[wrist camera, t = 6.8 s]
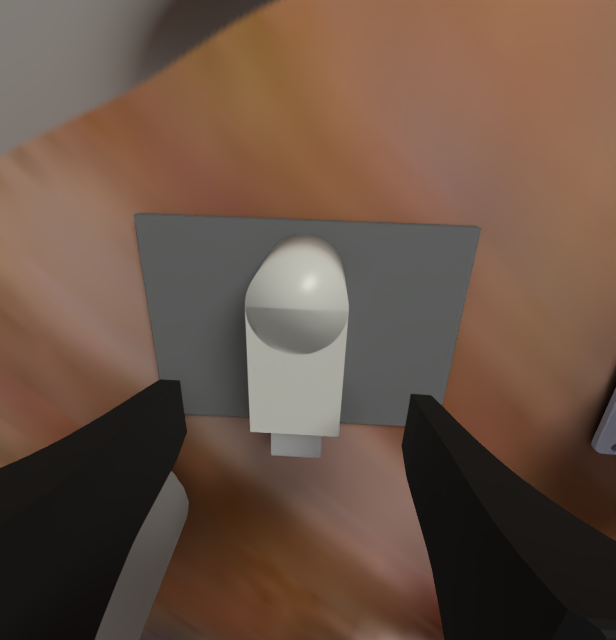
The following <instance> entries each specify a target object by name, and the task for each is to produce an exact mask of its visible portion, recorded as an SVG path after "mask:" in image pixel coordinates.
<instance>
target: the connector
mask: <svg viewBox="0 0 616 640" xmlns="http://www.w3.org/2000/svg"><path fill="white" fill-rule="evenodd" d="M348 314H349V303H348V296H347V289H346V282H345V275H344V268H343V263H342V260H341V258H340V255H339V254H338V252H337V251H336V249H335V248H334V247H333V246H332V245H331V244H330V243H329V242H327V241H326V240H324V239H323V238H321V237H318V236H316V235H312V234H295V235H291V236H288V237H286V238H284V239H282V240H281V241H279V242H278V243H277V244H276V245H275V246H274V247H273V248H272V249H271V251H270V252H269V254H268V256H267V257H266V259H265V260H264V262H263V264H262V265H261V267H260V268H259V270H258V272H257V273H256V275H255V276H254V278H253V280H252V281H251V283H250V285H249V287H248V290H247V293H246V298H245V321H246V344H247V367H248V390H249V413H250V432H262V433H271V455H277V456H294V457H311V458H321V444H322V436H332V437H339V425H340V412H341V400H342V388H343V376H344V363H345V351H346V339H347V327H348Z"/></svg>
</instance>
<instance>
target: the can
mask: <svg viewBox="0 0 616 640" xmlns="http://www.w3.org/2000/svg"><path fill="white" fill-rule="evenodd" d="M188 507H189V501H188V498H187V495H186V492H185V489H184V487H183V486H182V484H181V483H180V482H179V481H178V479H177V477H176V475H175V474H174V473H173V472H172V470H171V472H170V474H169V476H168V478H167V480H166V482H165V484H164V485H163V487H162V489H161V491H160V493H159V495H158V497H157V499H156V500H155V502H154V504H153V506H152V508H151V510H150V512H149V514H148V515H147V517H146V519H145V521H144V523H143V525H142V527H141V529H140V531H139V533H138V535H137V537H136V539H135V541H134V543H133V545H132V547H131V550H130V552H129V554H128V557H127V559H126V562H125V564H124V566H123V569H122V571H121V574H120V576H119V578H118V581H117V583H116V586H115V588H114V591H113V593H112V596H111V599H110V601H109V604H108V606H107V609H106V611H105V614H104V616H103V619H102V622H101V624H100V627H99V630H98V632H97V635H96V638H95V640H139V639H140V637H141V634H142V631H143V629H144V626H145V624H146V621H147V619H148V616H149V614H150V611H151V608H152V606H153V603H154V601H155V598H156V596H157V593H158V591H159V588H160V585H161V583H162V580H163V578H164V575H165V573H166V570H167V568H168V565H169V562H170V560H171V557H172V555H173V552H174V550H175V547H176V545H177V542H178V539H179V537H180V534H181V532H182V529H183V527H184V524H185V522H186V519H187V516H188Z"/></svg>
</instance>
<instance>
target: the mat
mask: <svg viewBox="0 0 616 640" xmlns="http://www.w3.org/2000/svg"><path fill="white" fill-rule="evenodd" d="M134 220H135V226H136V232H137V238H138V245H139V251H140V257H141V263H142V270H143V276H144V282H145V289H146V295H147V301H148V307H149V314H150V320H151V326H152V333H153V339H154V345H155V351H156V358H157V364H158V370H159V377H160V380H161V379H164V380H180V384H181V392H182V399H183V407H184V414H195V415H213V416H231V417H248V418H250V413H249V390H248V367H247V344H246V321H245V298H246V293H247V290H248V287H249V285H250V283H251V281H252V280H253V278H254V276H255V275H256V273H257V272H258V270H259V268H260V267H261V265H262V264H263V262H264V260H265V259H266V257H267V256H268V254H269V252H270V251H271V249H272V248H273V247H274V246H275V245H276V244H277V243H278V242H279V241H281V240H282V239H284V238H286V237H288V236H291V235H295V234H312V235H316V236H318V237H321V238H323V239H324V240H326V241H327V242H329V243H330V244H331V245H332V246H333V247H334V248H335V249H336V251H337V252H338V254H339V255H340V258H341V260H342V263H343V268H344V275H345V282H346V289H347V296H348V303H349V314H348V327H347V339H346V351H345V363H344V376H343V388H342V400H341V412H340V423H355V424H373V425H390V426H405V424H406V419H407V413H408V407H409V401H410V396H411V394H422V395H431V396H433V397H434V398H435V399H436V400H437V401H438V402H439V403H440V404H441V405H442V404H443V399H444V394H445V390H446V385H447V381H448V376H449V372H450V367H451V363H452V358H453V353H454V349H455V344H456V340H457V335H458V331H459V326H460V322H461V317H462V312H463V308H464V303H465V299H466V294H467V290H468V285H469V281H470V276H471V271H472V267H473V262H474V258H475V253H476V249H477V244H478V240H479V235H480V230H481V228H480V227H478V226H467V225H441V224H415V223H389V222H363V221H337V220H311V219H285V218H259V217H233V216H207V215H181V214H155V213H137V214H134Z"/></svg>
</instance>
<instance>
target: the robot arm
mask: <svg viewBox="0 0 616 640" xmlns="http://www.w3.org/2000/svg"><path fill="white" fill-rule="evenodd" d="M186 433H187V429H186V422H185V414H184V407H183V399H182V392H181V384H180V380H164V379H161V380H159V381H157V382H155V383H154V384H152V385H150V386H149V387H147V388H145V389H144V390H142V391H141V392H139V393H138V394H136V395H134V396H133V397H131V398H130V399H128V400H127V401H125V402H123V403H122V404H120V405H119V406H117V407H115V408H114V409H112V410H111V411H109V412H108V413H106V414H104V415H103V416H101V417H99V418H98V419H96V420H94V421H92V422H91V423H89V424H87V425H86V426H84V427H82V428H80V429H79V430H77V431H75V432H73V433H72V434H70V435H68V436H66V437H65V438H63V439H61V440H59V441H57V442H55V443H53V444H51V445H49V446H47V447H45V448H43V449H41V450H39V451H37V452H35V453H33V454H31V455H29V456H27V457H25V458H22V459H20V460H18V461H16V462H13V463H11V464H9V465H6V466H4V467H2V468H0V640H95V638H96V635H97V632H98V630H99V627H100V624H101V622H102V619H103V616H104V614H105V611H106V609H107V606H108V604H109V601H110V599H111V596H112V593H113V591H114V588H115V586H116V583H117V581H118V578H119V576H120V574H121V571H122V569H123V566H124V564H125V562H126V559H127V557H128V554H129V552H130V550H131V547H132V545H133V543H134V541H135V539H136V537H137V535H138V533H139V531H140V529H141V527H142V525H143V523H144V521H145V519H146V517H147V515H148V514H149V512H150V510H151V508H152V506H153V504H154V502H155V500H156V499H157V497H158V495H159V493H160V491H161V489H162V487H163V485H164V484H165V482H166V480H167V478H168V476H169V474H170V472H171V470H172V468H173V466H174V464H175V462H176V460H177V457H178V455H179V452H180V450H181V447H182V444H183V441H184V439H185V436H186ZM591 445H592V447H593V448H594V449H595V450H596V451H597V452H598V453H601V454H614V455H616V388H615V390H614V393H613V395H612V397H611V399H610V402H609V404H608V406H607V408H606V411H605V413H604V415H603V417H602V420H601V422H600V424H599V426H598V429H597V431H596V433H595V435H594V438H593V440H592V443H591ZM402 451H403V458H404V464H405V470H406V476H407V480H408V484H409V488H410V491H411V495H412V498H413V502H414V506H415V509H416V513H417V516H418V519H419V523H420V526H421V530H422V533H423V537H424V540H425V544H426V547H427V551H428V555H429V559H430V563H431V567H432V572H433V578H434V583H435V588H436V594H437V599H438V604H439V610H440V615H441V621H442V627H443V633H444V639H445V640H616V541H614V540H612V539H611V538H609V537H607V536H606V535H604V534H602V533H601V532H599V531H597V530H596V529H594V528H592V527H591V526H589V525H588V524H586V523H585V522H583V521H581V520H580V519H578V518H577V517H575V516H574V515H572V514H571V513H569V512H568V511H566V510H565V509H563V508H562V507H560V506H559V505H557V504H556V503H554V502H553V501H551V500H550V499H549V498H547V497H546V496H544V495H543V494H542V493H540V492H539V491H538V490H536V489H535V488H534V487H532V486H531V485H530V484H528V483H527V482H526V481H524V480H523V479H522V478H520V477H519V476H518V475H516V474H515V473H514V472H513V471H511V470H510V469H509V468H508V467H507V466H505V465H504V464H503V463H502V462H501V461H500V460H498V459H497V458H496V457H495V456H494V455H493V454H491V453H490V452H489V451H488V450H487V449H486V448H485V447H484V446H482V445H481V444H480V443H479V442H478V441H477V440H476V439H475V438H474V437H473V436H472V435H471V434H470V433H469V432H468V431H467V430H465V429H464V428H463V427H462V426H461V425H460V424H459V423H458V422H457V421H456V420H455V419H454V418H453V417H452V416H451V415H450V414H449V413H448V412H447V410H446V409H445V408H444V407H443V406H442V405H441V404H440V403H439V402H438V401H437V400H436V399H435V398H434V397H433V396H431V395H422V394H411V396H410V401H409V407H408V413H407V419H406V424H405V430H404V436H403V442H402Z"/></svg>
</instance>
